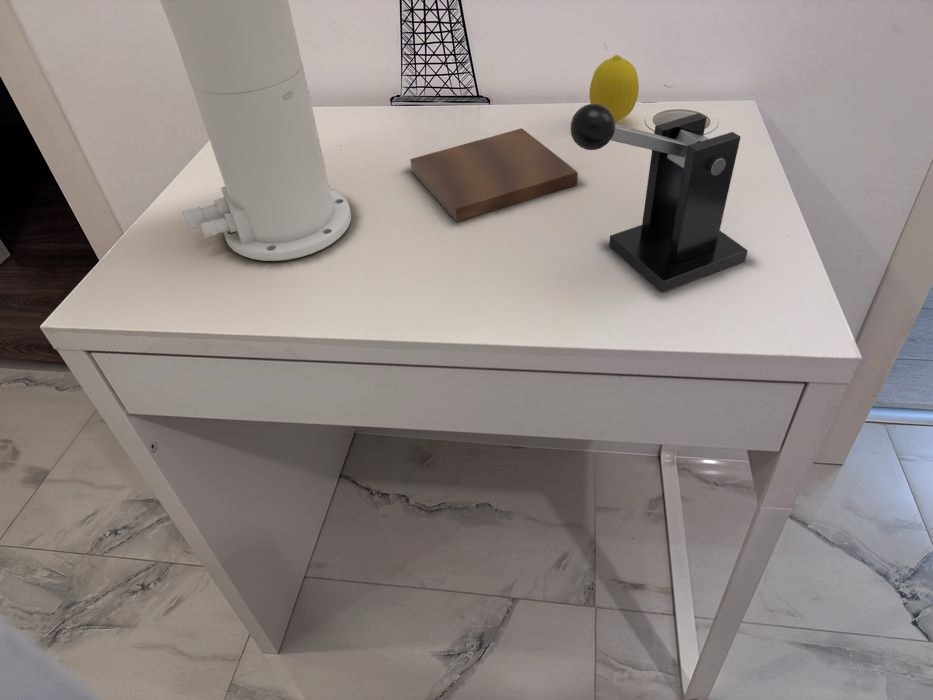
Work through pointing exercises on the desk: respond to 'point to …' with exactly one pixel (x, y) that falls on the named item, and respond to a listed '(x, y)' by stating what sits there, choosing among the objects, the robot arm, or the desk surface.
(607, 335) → the desk surface
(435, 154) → the board
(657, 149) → the lever
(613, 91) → the lemon
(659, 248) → the lever stand
